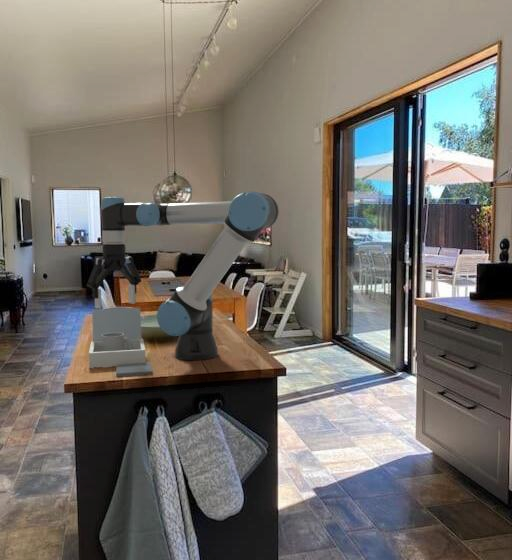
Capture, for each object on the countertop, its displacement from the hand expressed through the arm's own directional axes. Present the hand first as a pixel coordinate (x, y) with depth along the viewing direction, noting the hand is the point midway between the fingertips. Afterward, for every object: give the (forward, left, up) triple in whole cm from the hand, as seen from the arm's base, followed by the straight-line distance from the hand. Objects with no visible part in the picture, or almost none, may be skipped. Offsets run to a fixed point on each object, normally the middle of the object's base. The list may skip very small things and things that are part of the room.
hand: (115, 305), depth 192 cm
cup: (0, 0, -19) cm, 19 cm away
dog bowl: (+63, -44, -19) cm, 79 cm away
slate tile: (-16, +5, -19) cm, 25 cm away
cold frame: (+2, -2, -19) cm, 19 cm away
